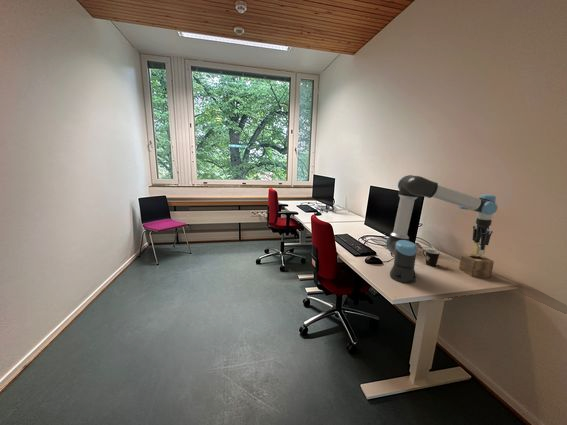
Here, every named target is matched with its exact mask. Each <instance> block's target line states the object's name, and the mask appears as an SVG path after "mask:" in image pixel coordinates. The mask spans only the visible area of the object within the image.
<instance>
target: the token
mask: <svg viewBox="0 0 567 425" xmlns="http://www.w3.org/2000/svg"><path fill="white" fill-rule="evenodd" d="M486 247H487V245H485V248H484V251H483V254H478V249H479V244H475V243H474V244H473V252H472V254H476V255H482V256H484V255H485V252H486V249H487V248H486Z"/></svg>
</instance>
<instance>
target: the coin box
mask: <svg viewBox="0 0 567 425" xmlns="http://www.w3.org/2000/svg"><path fill="white" fill-rule="evenodd" d="M494 263H495V261H494V260H492V259H490V258H487V257H486V256H484V255H476V254H474V253H461V254H460V259H459V266H458V269H459V270H461V271H462V272H464V273H465V274H467V275H468V276H470V277H475V278H476V277H477V278H478V277H479V278H491V277H492V272H493V269H494Z"/></svg>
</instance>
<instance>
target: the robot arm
mask: <svg viewBox="0 0 567 425" xmlns="http://www.w3.org/2000/svg"><path fill="white" fill-rule="evenodd" d="M397 188H398V190H399V191H398V197H399V202H398V206H397V207H398V208H397V212H396V216H395V221H394V227H393V231H392V232H391V233H390V234H389V237H388V238H387V239H386V242H385V244H386V245H385V246H386V248H387V249H388V251H389V252H390V253H391V254H392V255H393V256H394V259H393V260H394V261H393V265H392V267H391V269H390V272H389V277H390V278H391V279H392V280H394V281H397V282H399V283H404V284H413V283H416V281H417V274H416V270H415V265H416V264H415V263H416V257H417V251H418V250H417V249H418V247H417V244H415V243H414V242H412V241H410V240H409V239H410V236H408V233H409V232H408V231H409V228H410V222H411V218H412V213H413V209H414V204H415V200H417V199H418V198H419V196H420V197H425V198H427V199H428V198H429V199H432V198H433V199H437V200H440V201H442V202H446V203H449V204H452V205H456V206H458V208H459V209H460V210H467V211H468V210H469V211H472V212H477V214H476V220H475V224H476V225H473V226H472V229H473V230H472V231H473V232H472V241H473V242H474V244H479V249H478V254H483V251H484V248H485V246H489V244H490V240H491V237H492V234H493V230H490V226H491V225H492V221H493V220H492V219H493V216H494V215H495V213H496V212H497V211H498V205H497V203H496V201H497V200H496V195H493V194H481V195H480V196H479V197H477V196H473V195H470V194H467V193H464V192H461V191H458V190H455V189H451V188H449V187H445V186H442V185H439V184H438V182H436V181H432V180H430V179H428V178H426V177H423V176H420V175H414V174H413V175H412V174H409V175H408V174H407V175H404V176H402V177H401V178H400V179H399V180H398V182H397ZM485 249H486V248H485Z"/></svg>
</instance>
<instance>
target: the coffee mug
mask: <svg viewBox="0 0 567 425" xmlns="http://www.w3.org/2000/svg"><path fill="white" fill-rule="evenodd" d="M422 254H423V256H424V257H425V265H427V267H428V266H429V267H436V266H437V264H438V260H439V257H440V251H438V250H435V249H424V250H423V251H422Z"/></svg>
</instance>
